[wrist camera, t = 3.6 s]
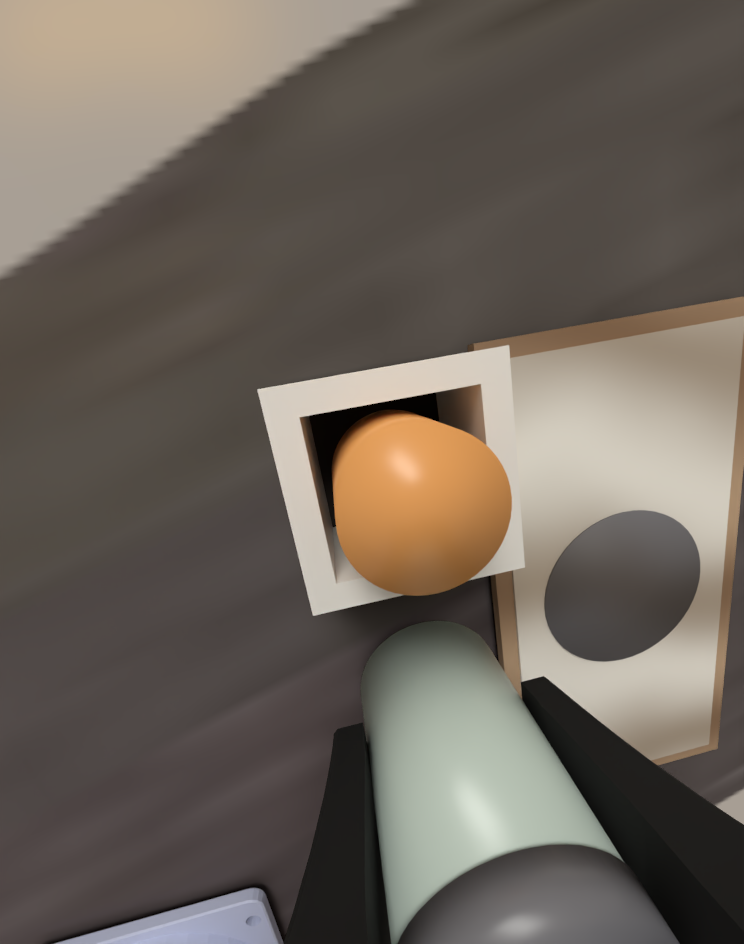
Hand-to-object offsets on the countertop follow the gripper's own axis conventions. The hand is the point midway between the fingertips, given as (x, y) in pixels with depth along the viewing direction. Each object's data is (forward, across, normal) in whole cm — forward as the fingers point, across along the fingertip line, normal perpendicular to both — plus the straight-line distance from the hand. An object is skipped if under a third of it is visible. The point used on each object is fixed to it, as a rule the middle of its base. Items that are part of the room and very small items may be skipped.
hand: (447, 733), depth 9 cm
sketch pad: (+3, -7, -1) cm, 7 cm away
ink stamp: (+2, 0, 0) cm, 2 cm away
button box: (+3, 0, -7) cm, 7 cm away
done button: (+1, 0, -7) cm, 7 cm away
